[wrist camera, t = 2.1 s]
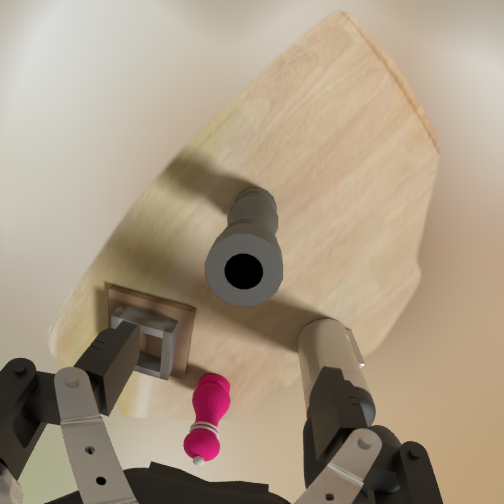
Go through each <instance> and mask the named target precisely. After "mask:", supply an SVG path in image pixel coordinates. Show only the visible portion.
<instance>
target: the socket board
mask: <svg viewBox="0 0 504 504" xmlns="http://www.w3.org/2000/svg"><path fill="white" fill-rule="evenodd" d="M195 311H196V308H193V307H189V306H185V305H182V304H178V303H174V302H170V301H166V300H162V299H159V298H155V297H151V296H148V295H144V294H141V293H137V292H133V291H130V290H127V289H123V288H120V287H116V286H113V285H112V286H111V287H110V288H109V327H110V328H113V329H116V328H117V327H118V325H119V324H120V323H121V321H123V320H125V321H129V322H132V323H135V324H139V325H140V350H139V358H138V362H137V364H136V366H135V368H134V371H138V372H141V373H144V374H147V375H150V376H154V377H157V378H161V379H164V380H168V378H169V376H174V377H177V378H181V379H185V376H186V370H187V363H188V356H189V350H190V343H191V336H192V330H193V324H194V317H195Z"/></svg>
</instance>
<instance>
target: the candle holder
mask: <svg viewBox="0 0 504 504" xmlns="http://www.w3.org/2000/svg"><path fill="white" fill-rule="evenodd" d="M227 222H228V226H227V228H226V229H225V230H224V231H223V232H222V233H221V234H220V235H219V236H218V237H217V238H216V240H215V242H214V244H213V246H212V247H211V249H210V251H209V254H208V257H207V259H206V262H205V275H206V280H207V282H208V284H209V286H210V288H211V290H212V292H214V293H215V294H216V295H217V296H218V297H219V298H220V299H222V300H223V301H225V302H227V303H230V304H233V305H235V306H255V305H257V304H260V303H263V302H266V301H267V300H268V299H269V298H270V297H272V296H273V295H274V294H275V293H276V292H277V290H278V288H279V286H280V284H281V282H282V280H283V260H282V253H281V249H280V247H279V244H278V242H277V239H276V236H275V233H276V231H277V229H278V215H277V207H276V203H275V201H274V198H273V196H272V195H271V194H270V193H269V192H268V191H266V190H264V189H261V188H249V189H247V190H244V191H243V192H242V193H241V194H240V195H239V196H238V197H237V199H236V201H235V203H234V206H233V207H232V208H231V210H230V212H229V215H228V218H227Z"/></svg>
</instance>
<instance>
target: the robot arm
mask: <svg viewBox="0 0 504 504" xmlns="http://www.w3.org/2000/svg"><path fill="white" fill-rule="evenodd" d="M297 345H298V353H299V360H300V368H301V375H302V382H303V389H304V398H305V405H306V413H307V421H306V423H305V425H304V429H303V447H304V448H303V450H304V479H305V486H306V491H305V492H304V493H303V494H302V495H301V497H299V498H298V500H297V501H296V502H295V503H294V504H443V501H442V498H441V495H440V491H439V488H438V484H437V481H436V478H435V475H434V472H433V468H432V465H431V463H430V459H429V457H428V454H427V451H426V449H425V448H424V447H423V446H422V445H420V444H419V443H417V442H413V441H408V442H405V443H403V444H401V443H400V441H399V440H398V439H397V437H396V436H395V435H394V434H393V433H392V432H391V431H390V430H389V429H388V428H386V427H384V426H380V425H374V426H371V425H372V423H373V421H374V419H375V414H376V410H375V405H374V402H373V399H372V396H371V394H370V391H369V388H368V385H367V383H366V380H365V377H364V375H363V372H362V367H363V365H364V360H363V358H362V355H361V353H360V350H359V348H358V345H357V343H356V341H355V338H354V336H353V333H352V331H351V330H348V329H346V328H345V327H344V326H343V325H342V324H341V323H340V322H338V321H336V320H333V319H319V320H315V321H313V322H311V323H309V324H308V325H306V326H305V327H304V328H303V329H302V331H301V332H300V334H299V336H298V340H297ZM139 350H140V325H139V324H135V323H132V322H129V321H125V320H123V321H121V323H120V324H119V325H118V327H117V328H116V329H113V328H110V327H109V328H108V329H106V330H104V331H102V332H100V333H99V335H98V336H97V337H96V338H95V341H93V342H92V343H91V345H90V347H88V348H87V350H86V351H85V352H84V353H83V355H82V356H81V357H80V359H79V360H78V361H77V362H76V364H75V365H74V366H73V367H66V368H63V369H61V370H59V371H58V372H57V373H56V374H51V373H45V372H40V371H36V367H35V365H34V363H33V362H32V361H30V360H28V359H25V358H16V359H13V360H11V361H9V362H8V363H7V364H6V366H5V367H4V368H3V369H2V370H1V371H0V504H22V499H23V491H22V488H21V486H20V484H19V483H18V482H17V481H18V479H19V477H20V475H21V472H22V470H23V468H24V466H25V464H26V463H27V460H28V459H29V457H30V455H31V453H32V451H33V449H34V447H35V445H36V443H37V441H38V440H39V438H40V436H41V434H42V432H43V431H44V428H45V427H46V425H47V423H50V424H56V425H61V429H62V433H63V438H64V442H65V445H66V449H67V453H68V457H69V461H70V464H71V467H72V471H73V474H74V477H75V480H76V483H77V486H78V489H79V490H77V491H75V492H73V493H71V494H68V495H65V496H63V497H60V498H58V499H56V500H53V501H50V502H48V503H45V504H291V503H290V502H288V501H287V500H285V499H283V498H282V497H280V496H278V495H276V494H274V493H271V492H268V488H269V486H268V484H260V483H251V482H244V481H229V482H208V481H205V480H203V479H200V478H198V477H196V476H193V475H191V474H189V473H187V472H185V471H183V470H181V469H177V468H174V467H170V466H166V465H162V464H159V463H155V462H151V464H150V467H149V468H130V469H126V470H122V468H121V466H120V463H119V461H118V459H117V456H116V454H115V451H114V449H113V446H112V443H111V441H110V438H109V436H108V433H107V430H106V427H105V424H104V421H103V419H102V417H100V414H103V415H106V416H109V415H110V413H111V410H112V409H113V407H114V405H115V403H116V401H117V400H118V398H119V396H120V394H121V392H122V390H123V388H124V386H125V385H126V383H127V381H128V379H129V377H130V375H131V374H132V372H133V370H134V368H135V366H136V364H137V362H138V358H139Z"/></svg>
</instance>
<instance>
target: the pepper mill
mask: <svg viewBox="0 0 504 504" xmlns="http://www.w3.org/2000/svg"><path fill="white" fill-rule="evenodd" d="M229 390H230V384H229V382H228V381H227V380H226V379H225V378H224V377H222V376H220V375H216V374H208V375H205V376H203V377H202V378H201V379H200V381H199V384H198V388H197V389H196V390H195V391H194V393H193V399H192V402H193V407H194V410H195V413H196V421H195V423H194V424H192V425H191V428H190V433H189V434H188V435H187V436H186V438H185V440H184V450H185V452H186V453H187V455H188V456H189V457H191V458H193V463H194V464H195V465H197V466H201V465H203V464H204V461H209V460H212V459H214V458H215V457H216V456H217V455H218V453H219V450H220V443H219V441H218V438H219V430H218V428H217V425H218V422H219V420H220V419H221V418H222V417H223V415H224V414H225V413H226V412H227V410H228V408H229V405H230V396H229Z"/></svg>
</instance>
